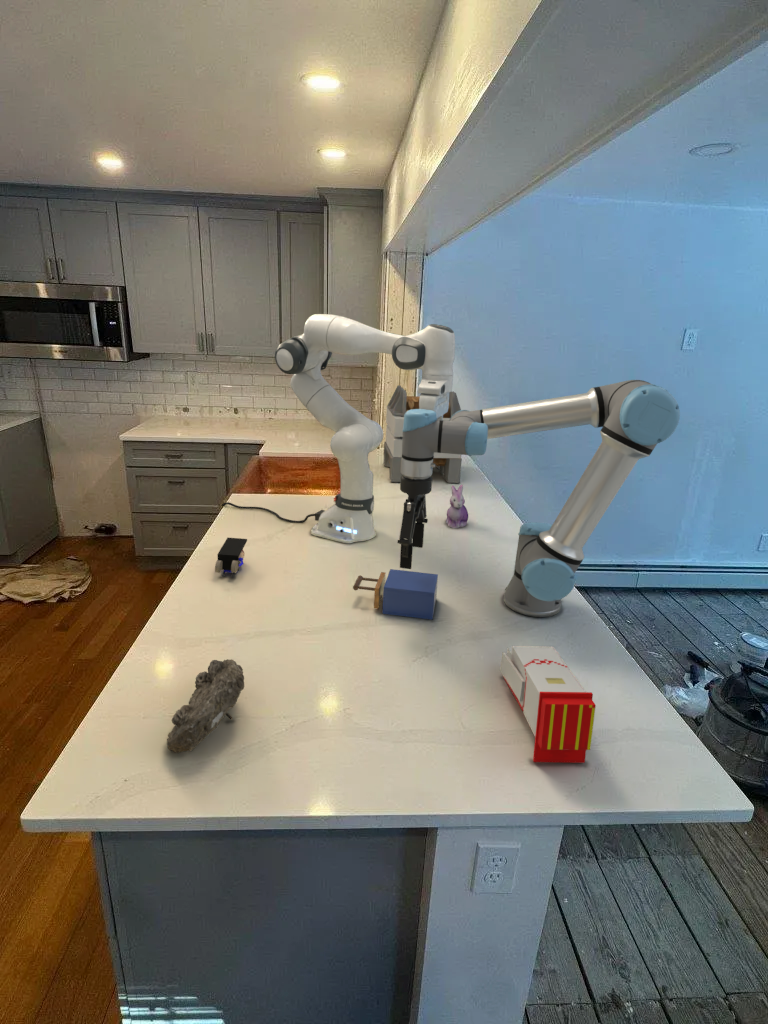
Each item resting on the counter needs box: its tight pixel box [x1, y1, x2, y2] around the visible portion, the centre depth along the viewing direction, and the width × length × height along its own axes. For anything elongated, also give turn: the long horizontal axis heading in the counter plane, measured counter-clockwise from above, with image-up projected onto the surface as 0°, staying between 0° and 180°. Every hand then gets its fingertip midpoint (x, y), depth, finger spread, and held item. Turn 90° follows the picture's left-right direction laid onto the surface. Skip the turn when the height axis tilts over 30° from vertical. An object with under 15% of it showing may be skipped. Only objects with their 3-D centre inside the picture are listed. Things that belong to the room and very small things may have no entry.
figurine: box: [445, 484, 469, 529], centre depth 209 cm, size 9×10×15 cm
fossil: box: [166, 658, 245, 754], centre depth 106 cm, size 22×10×15 cm
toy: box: [499, 645, 597, 764], centre depth 112 cm, size 12×13×30 cm
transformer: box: [383, 384, 463, 484], centre depth 268 cm, size 34×33×41 cm
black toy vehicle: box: [214, 537, 248, 578], centre depth 166 cm, size 7×8×15 cm
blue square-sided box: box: [381, 568, 439, 621], centre depth 150 cm, size 13×11×8 cm
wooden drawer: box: [352, 571, 387, 610], centre depth 151 cm, size 18×10×6 cm, turn 80°
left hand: (433, 432), depth 166 cm, fingers open, 8 cm apart
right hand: (411, 557), depth 142 cm, fingers open, 13 cm apart
